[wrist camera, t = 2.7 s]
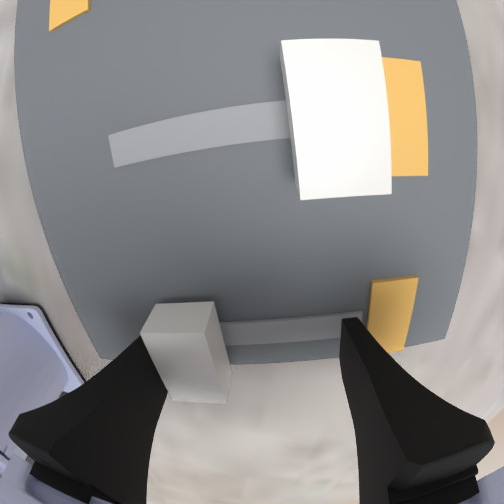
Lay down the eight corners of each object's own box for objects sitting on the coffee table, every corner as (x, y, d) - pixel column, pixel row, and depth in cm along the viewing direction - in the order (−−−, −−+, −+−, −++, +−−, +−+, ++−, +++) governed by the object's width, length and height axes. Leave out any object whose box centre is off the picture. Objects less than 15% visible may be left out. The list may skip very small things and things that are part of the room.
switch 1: (182, 371, 13) (173, 400, 11) (156, 303, 11) (139, 333, 9) (232, 372, 12) (227, 403, 11) (213, 301, 11) (204, 333, 9)
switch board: (107, 346, 15) (99, 360, 14) (31, -4, 6) (16, -7, 5) (437, 326, 13) (446, 341, 12) (412, -74, 4) (422, -84, 3)
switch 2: (295, 184, 9) (300, 200, 7) (279, 55, 7) (281, 40, 5) (370, 179, 8) (391, 193, 7) (359, 53, 7) (378, 40, 5)
